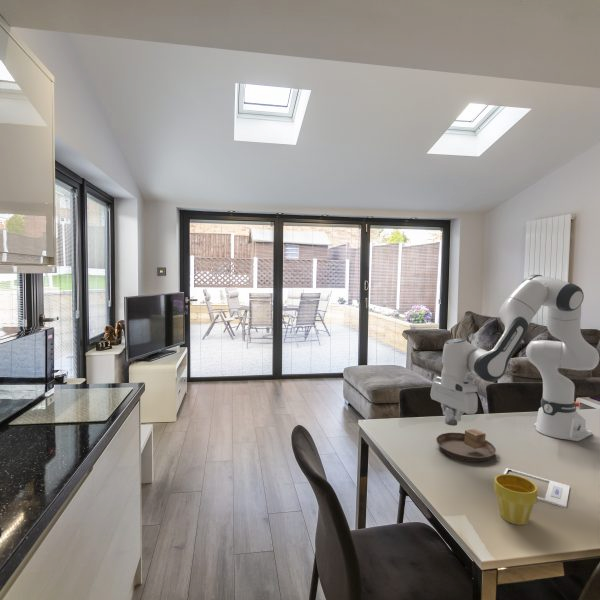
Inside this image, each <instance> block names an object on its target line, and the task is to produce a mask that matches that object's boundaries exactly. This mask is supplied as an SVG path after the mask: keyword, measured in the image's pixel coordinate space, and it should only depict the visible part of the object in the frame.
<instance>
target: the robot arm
mask: <svg viewBox="0 0 600 600" xmlns="http://www.w3.org/2000/svg"><path fill="white" fill-rule="evenodd" d="M584 296H585V295H584V292H583V290H582V288H581V287H580V286H578V285H577V284H574V283H572V282H571V283H570V282H568V281H566V280H562V279H561V278H554V277H551V276H550V277H549V276H544V275H542V274H531V275H528V276H527V277H525V278H524V279H523V281H522V283H521V284H519V286H517V287H516V288H515V289H514V290H513V291H512V292H511V293H510V295H509V296H508V297H506V299H505V301H504V302H502V305H501V306H500V309H499V311H498V316H499V319H500V321H501V323H502V324H503V325H504V331H503V333H502V334H501V336H500V338H499V339H498V341H497V342H496V344H495V345H494V347H493V348H492V349H490V350H486V349H484V348H481V347H478V346H477V345H474V344H472V343H470V342H469V341H467V339H464V338H460V337H459V338H457V337H456V338H450V339H448V340H446V341H445V342H444V345H443V348H442V350H443V351H442V359H441V362H442V363H441V364H442V369H441V374H440V375H441V377H440V376H438V375H437V376H435V377H434V378H433V379H432V384H431V389H430V395H429V396H430V398H431V400H433V401H436V402H438V403H440V406H441V409H442V415H443V416H445V410H446V406H450V407H452V408H455V409H457V412H458V413H457V415H455V416H454V420H456V421H457V422H461V420H462V416H463V415H464V413H465V414H467V415H472V414H473V415H474V414H476V413H477V412H478V404H479V402H478V401H479V400H478V398H479V397H478V395H477V393H476V392H478V390H479V389H478V386H477V385H476V384H475V383H474V382H472V381H471V380H470V379H469V378H467V375H468V373H472V374H474V375H476V376H477V377H479V378H480V379H482V380H483V381H486V382H490V383H491V382H496V381H499V380H501V379H502V378H503V376H504V375H505V374H506V371H507V369H508V367H509V363H510V360H511V358H512V357H513V355H514V354H515V352H516V351H517V349H518V348H519V346H520V344H521V343H522V341H523V339H524V338H525V336H526V335H527V332H528V330H529V325H530V324H531V321H532V319H534V317H535V315H537V313H538V312H539V311H540V309H541V307H542V306H544V307H547V308H548V310H547V324H546V325H547V328H546V329H547V331H548V333H549V334H550V335H551V336H552V337H554V338H555V339H558V340H560V341H557V340H549V339H547V340H546V339H545V340H543V339H541V340H531V341H530V342H529V343H528V344H527V346H526V348H525V355H526V359H527V360H528V362H530V363H531V364H533V365H534V367H536V369H537V370H538V372H539V373H540V376H541V378H542V397H541V400H540V407H539V408H538V412H537V417H536V422H534V424H533V426H535V429H536V431H537V432H539V433H541V434H543V435H545V436H548V437H551V438H556V439H561V440H569V441H573V442H579V441H581V440H583V439H586V438H587V437H588V438H589V436H591V435H593V432H592V431H591V430H589V429H588V428H586V424H587V423H586V419H585V418H584V417H583V416H582V415H581V414H580V413H579V412H578V411H577V408H579V407H580V406H581V403H580V402H577V401H576V400H575V388H576V387H575V384H574V382H573V381H572V380H571V379H570V378H568V377H566V376H565V375H563V374H562V373H560V372H559V369H566V370H575V371H593V370H594V369H595V368H596V367H598V365H599V363H600V355H599V352H598V350H597V348H595V347H594V346H592V345H591V344H590V343H589V342H588V341H586V340H585V338H584V337H583V335H582V332H581V318H582V303H584V302H583V301H584ZM574 400H575V401H574Z"/></svg>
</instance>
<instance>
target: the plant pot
mask: <svg viewBox="0 0 600 600" xmlns="http://www.w3.org/2000/svg"><path fill="white" fill-rule="evenodd" d="M493 488H494V489H493V490H494V493H495V494H496V496H497V502H498V506H499V507H498V508H499V513H500V516H501V518H502V519H503V520H505V521H506V522H508V523H510V524H514V525H520V526H522V525H527V524H528V523H529V520H530V516H531V514H532V510H533V507H534V505H535V504H536V503H537V501H538V499H537V497H538V494H539V493H538V486H537V484H535V483H534V482H533V481H531V480H530V479H528V478H525V477H523V476H520V475H515V474H510V473H506V474H504V473H501V474H498V475H496V476H495V478H494V486H493Z"/></svg>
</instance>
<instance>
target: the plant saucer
mask: <svg viewBox="0 0 600 600" xmlns="http://www.w3.org/2000/svg"><path fill="white" fill-rule="evenodd" d="M464 438H465V432H463V433H462V432H446V433H441V434H439V435H438V436H437V437H436V439H435V440H436V443H437V445H438V447H439V448H440V449H441V450H442V452H444V453H445V454H446V455H448V456H450V457H452V458H453V459H456V460H461V461H465V462H471V463H472V462H473V463H474V462H475V463H479V462H484V461H487V460H490V459H491V458H493V456H494V455H495V454H496V452H497V449H496V447H495V445H493V443H492V442H489V441H488V440H486V439H485V447H482V448H478V449H474V448H472V447H470V446H468V445H466V444H464Z"/></svg>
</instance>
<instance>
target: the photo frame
mask: <svg viewBox="0 0 600 600" xmlns="http://www.w3.org/2000/svg"><path fill="white" fill-rule="evenodd" d="M508 471H510V472H511V471H512V472H511V473H515V474H519V475H522V476H525V477H529V478H533V479H536V480H540V481H543V482H545V483H546V482H547V483H548V486H547V490H546V493H545V497H544V498H543V497H540V496H537V501H542V502H544V503H548V504H550V505H554V506H558V507H561V508H563V507H564V509H567V505H568V500H569V499H568V498H569V495H570V494H569V493H570V490H571V489H570V488H571V485H569V484H568V485H567V484H564V483H561V482H559V481H558V482H557V481H554V480H550V479H546V478H543V477H541V476H536V475H533V474H528V473H526V472H522V471H519V470H515V469H512V468H509V467H508V468H507V467H506V468H505V469H504V472H503V474H508Z"/></svg>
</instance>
